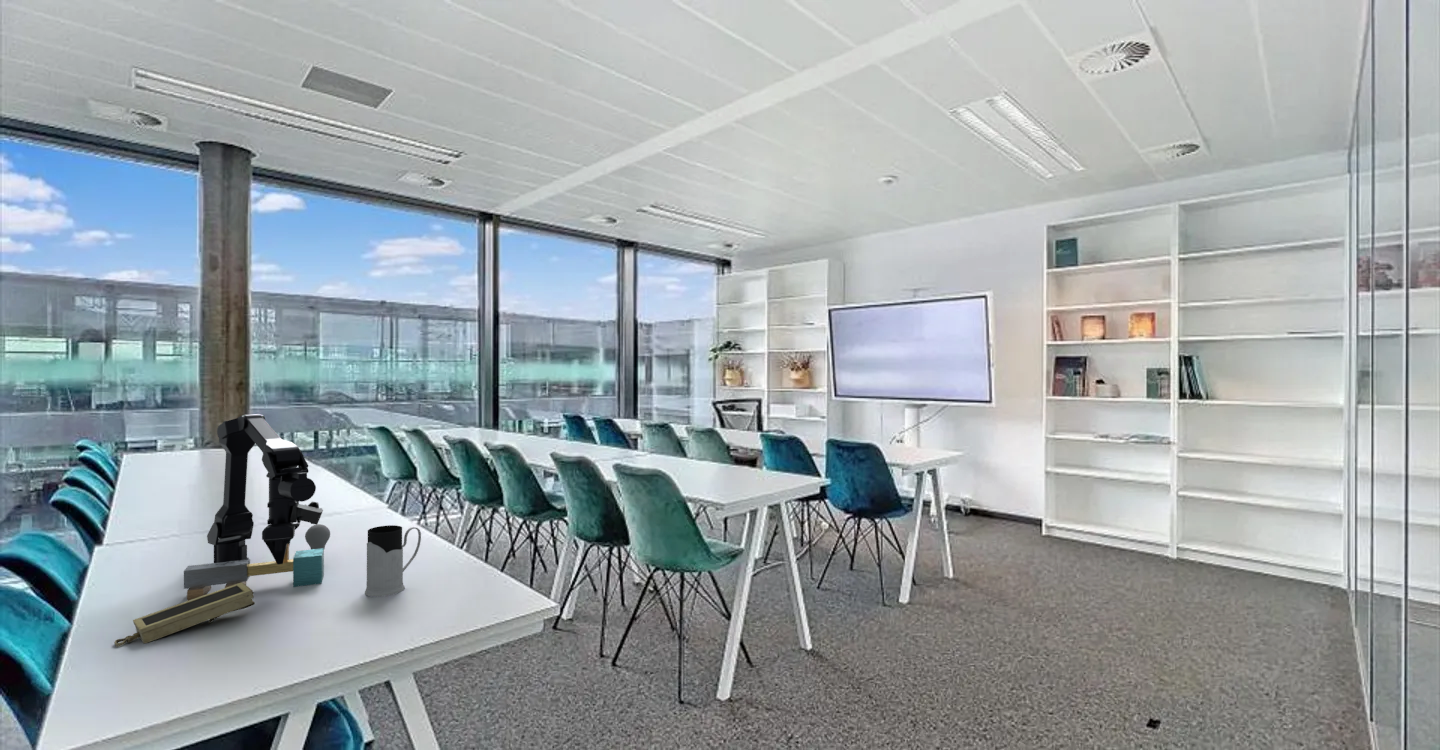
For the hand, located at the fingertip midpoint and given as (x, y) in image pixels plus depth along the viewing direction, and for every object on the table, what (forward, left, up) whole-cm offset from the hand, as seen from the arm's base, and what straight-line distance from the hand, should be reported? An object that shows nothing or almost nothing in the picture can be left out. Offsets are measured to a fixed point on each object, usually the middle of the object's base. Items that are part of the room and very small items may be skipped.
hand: (282, 559), depth 161 cm
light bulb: (-1, +20, -6) cm, 21 cm away
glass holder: (+28, -5, -6) cm, 29 cm away
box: (-5, -26, -7) cm, 28 cm away
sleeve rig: (-5, -2, -6) cm, 8 cm away
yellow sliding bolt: (-4, -1, -3) cm, 5 cm away
